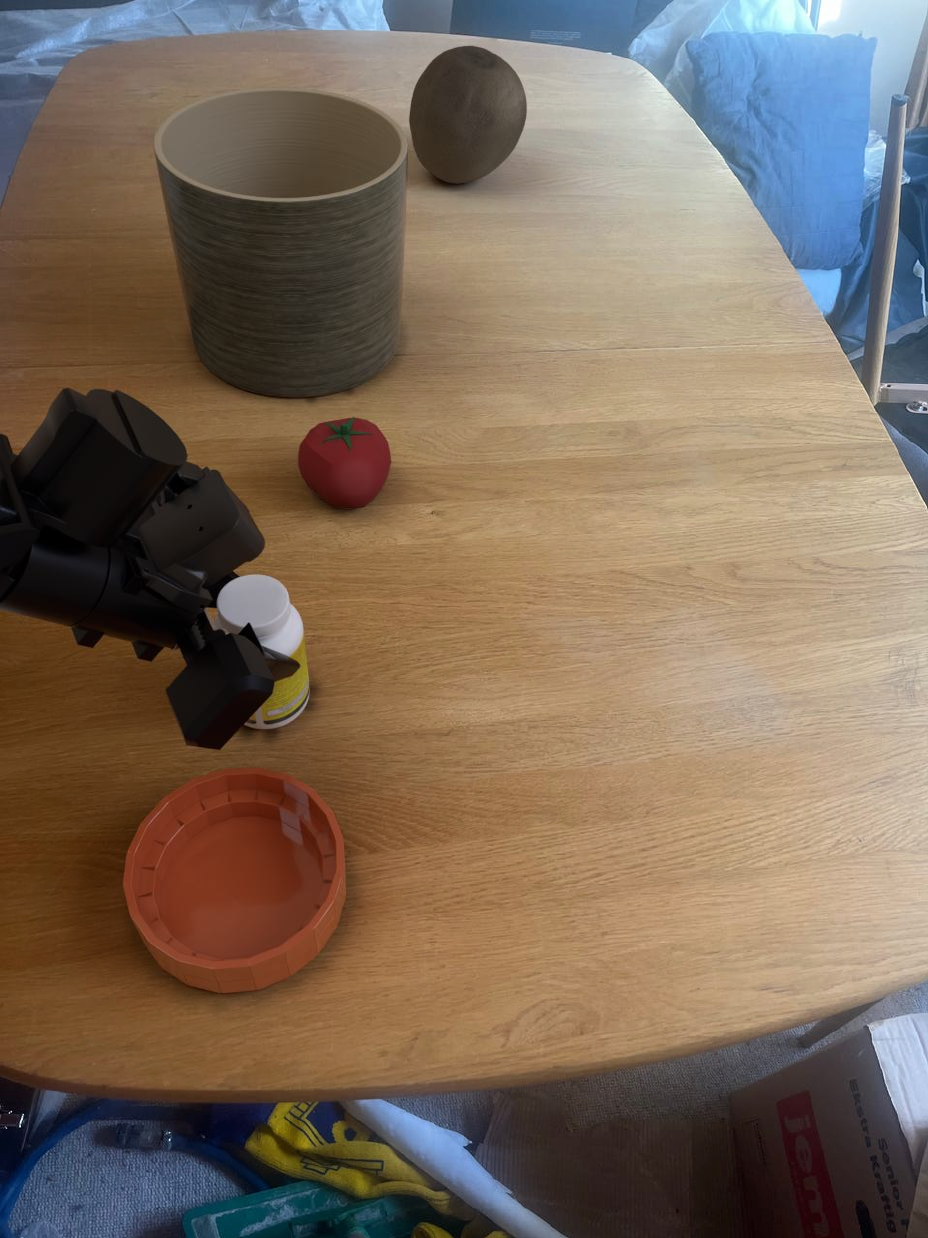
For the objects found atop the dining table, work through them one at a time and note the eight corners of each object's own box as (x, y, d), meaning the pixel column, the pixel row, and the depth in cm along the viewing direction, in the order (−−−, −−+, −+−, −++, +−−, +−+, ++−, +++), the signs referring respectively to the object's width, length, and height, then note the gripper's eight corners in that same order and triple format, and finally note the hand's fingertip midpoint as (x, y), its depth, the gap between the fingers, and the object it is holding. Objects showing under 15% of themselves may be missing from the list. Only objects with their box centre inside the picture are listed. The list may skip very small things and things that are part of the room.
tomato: (287, 481, 86) (280, 417, 80) (361, 449, 89) (360, 385, 84) (335, 534, 82) (332, 471, 77) (411, 499, 86) (413, 435, 80)
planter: (442, 365, 99) (453, 170, 83) (239, 427, 90) (210, 223, 75) (346, 260, 110) (340, 72, 95) (158, 306, 102) (118, 108, 86)
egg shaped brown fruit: (454, 214, 119) (462, 85, 107) (386, 168, 125) (387, 41, 114) (538, 186, 125) (555, 61, 113) (470, 143, 131) (479, 20, 120)
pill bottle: (314, 666, 73) (306, 567, 65) (305, 734, 69) (295, 639, 61) (232, 661, 73) (213, 562, 64) (218, 730, 69) (196, 633, 60)
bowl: (165, 1031, 56) (151, 1005, 52) (119, 841, 63) (104, 807, 60) (375, 945, 60) (375, 916, 56) (309, 776, 67) (305, 741, 64)
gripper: (219, 591, 47) (414, 654, 59) (114, 376, 57) (300, 468, 69) (91, 738, 50) (301, 769, 62) (13, 510, 60) (208, 575, 72)
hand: (278, 635), depth 67 cm, fingers closed on pill bottle, 6 cm apart
